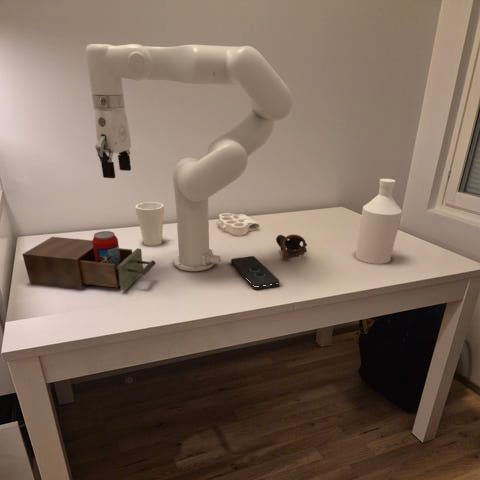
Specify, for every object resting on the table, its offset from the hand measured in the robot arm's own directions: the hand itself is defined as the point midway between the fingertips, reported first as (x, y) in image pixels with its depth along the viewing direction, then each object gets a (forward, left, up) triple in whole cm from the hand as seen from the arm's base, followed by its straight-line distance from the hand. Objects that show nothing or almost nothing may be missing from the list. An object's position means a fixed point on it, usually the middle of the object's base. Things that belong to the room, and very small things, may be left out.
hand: (117, 173), depth 114 cm
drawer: (-2, +8, -27) cm, 29 cm away
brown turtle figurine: (-42, -31, -28) cm, 60 cm away
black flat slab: (-36, -12, -28) cm, 47 cm away
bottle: (-68, -41, -28) cm, 84 cm away
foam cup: (+6, -23, -28) cm, 37 cm away
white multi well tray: (-15, -50, -28) cm, 59 cm away
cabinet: (+14, +11, -28) cm, 33 cm away
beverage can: (0, +9, -26) cm, 28 cm away
